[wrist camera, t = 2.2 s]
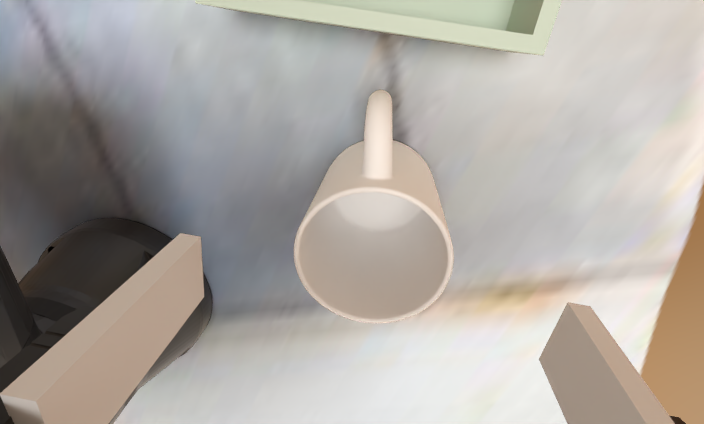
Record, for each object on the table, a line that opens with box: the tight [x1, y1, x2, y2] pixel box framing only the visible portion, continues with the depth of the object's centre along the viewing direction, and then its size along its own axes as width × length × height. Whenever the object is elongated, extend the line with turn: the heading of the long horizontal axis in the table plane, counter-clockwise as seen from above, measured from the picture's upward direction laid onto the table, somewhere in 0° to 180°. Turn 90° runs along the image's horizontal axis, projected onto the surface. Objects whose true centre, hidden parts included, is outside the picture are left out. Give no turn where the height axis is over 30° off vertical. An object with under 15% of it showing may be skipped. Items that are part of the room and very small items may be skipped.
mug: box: [294, 90, 454, 323], centre depth 22 cm, size 12×8×10 cm
